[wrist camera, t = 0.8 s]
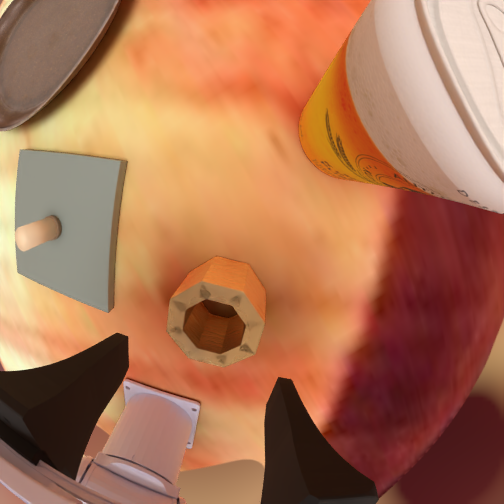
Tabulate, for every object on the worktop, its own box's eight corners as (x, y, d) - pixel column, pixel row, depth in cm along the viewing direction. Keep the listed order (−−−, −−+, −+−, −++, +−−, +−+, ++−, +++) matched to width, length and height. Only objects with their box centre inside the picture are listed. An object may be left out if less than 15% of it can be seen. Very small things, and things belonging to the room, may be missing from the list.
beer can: (306, 185, 17) (448, 251, 3) (288, 96, 16) (342, -83, 1) (390, 174, 17) (587, 212, 2) (373, 90, 15) (534, -3, 1)
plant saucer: (136, 88, 16) (114, 77, 13) (-11, 156, 18) (-32, 159, 15) (150, -64, 10) (140, -80, 7) (10, 14, 12) (-5, 9, 9)
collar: (252, 335, 21) (249, 373, 17) (182, 317, 21) (164, 350, 16) (272, 269, 19) (272, 298, 15) (193, 250, 19) (173, 273, 15)
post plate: (113, 307, 21) (83, 338, 16) (23, 269, 21) (-9, 287, 16) (127, 161, 17) (87, 161, 13) (27, 149, 17) (-12, 151, 12)
